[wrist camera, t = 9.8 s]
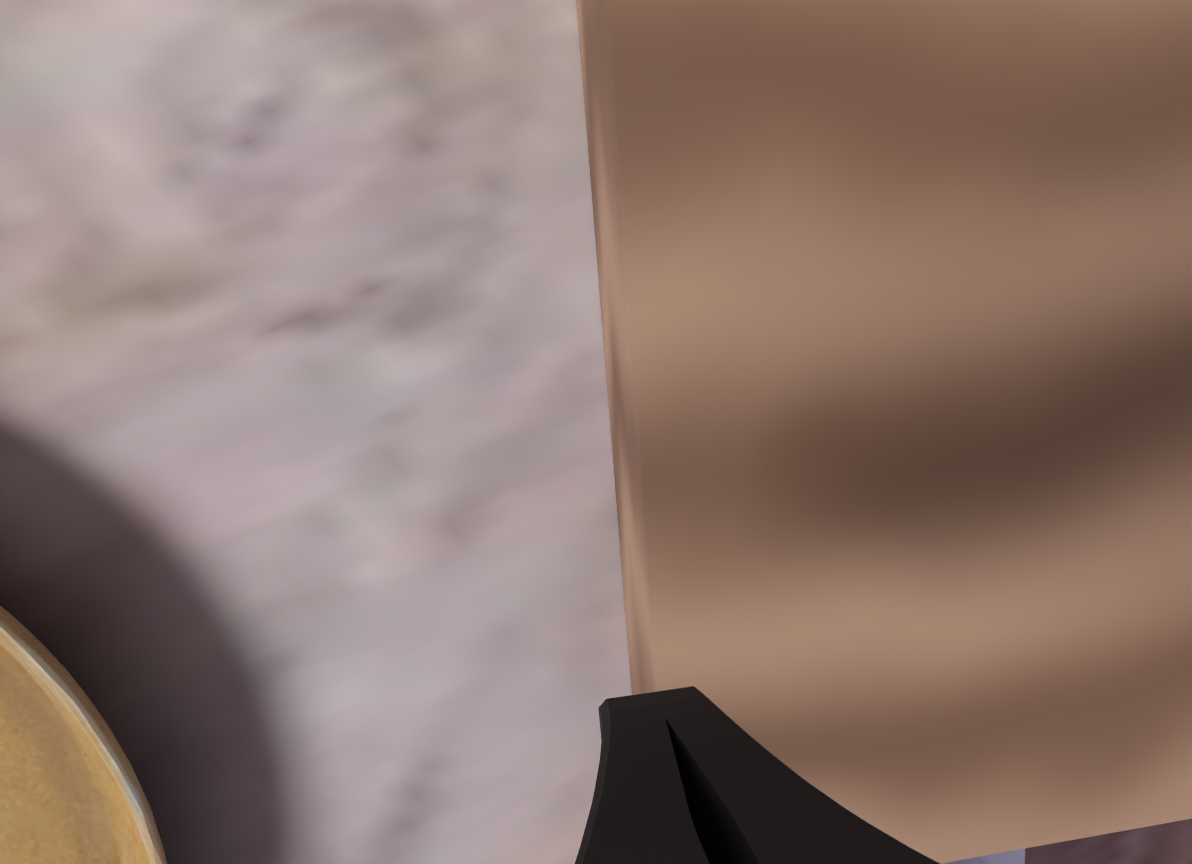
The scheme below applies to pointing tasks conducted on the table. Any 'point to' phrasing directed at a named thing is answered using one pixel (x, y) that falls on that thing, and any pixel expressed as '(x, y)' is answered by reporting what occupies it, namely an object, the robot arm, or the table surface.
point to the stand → (908, 394)
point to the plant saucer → (63, 768)
